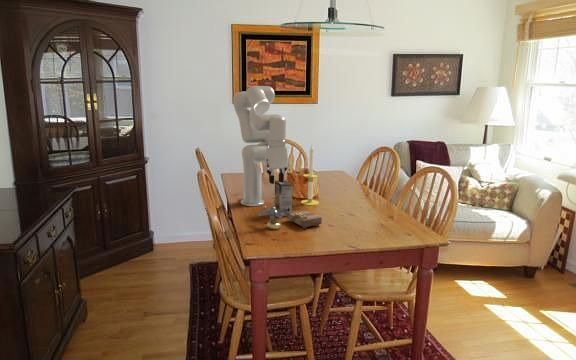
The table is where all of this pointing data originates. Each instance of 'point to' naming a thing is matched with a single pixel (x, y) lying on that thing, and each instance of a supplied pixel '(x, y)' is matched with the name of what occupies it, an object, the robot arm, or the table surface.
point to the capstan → (272, 216)
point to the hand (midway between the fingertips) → (276, 182)
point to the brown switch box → (304, 218)
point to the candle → (310, 181)
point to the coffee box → (283, 196)
